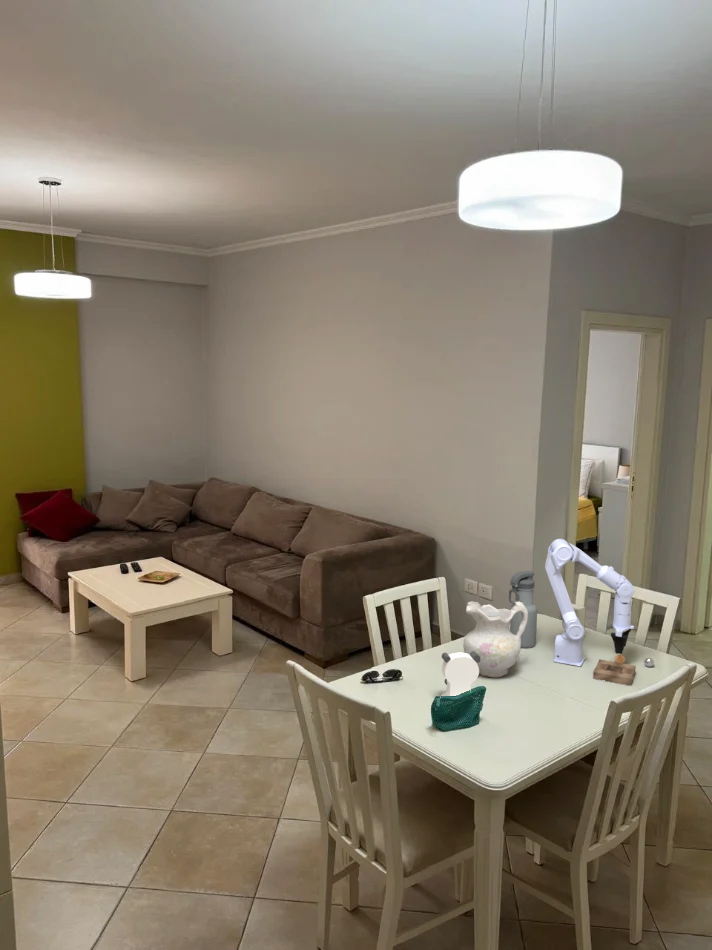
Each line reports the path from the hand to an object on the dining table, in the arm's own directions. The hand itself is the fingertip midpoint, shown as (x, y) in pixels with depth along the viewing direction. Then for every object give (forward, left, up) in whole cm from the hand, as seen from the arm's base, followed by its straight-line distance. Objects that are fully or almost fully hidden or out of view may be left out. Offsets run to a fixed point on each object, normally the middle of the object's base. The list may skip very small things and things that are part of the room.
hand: (620, 649), depth 257 cm
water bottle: (-36, +2, -5) cm, 36 cm away
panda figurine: (-41, -54, -5) cm, 68 cm away
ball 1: (0, 0, -4) cm, 4 cm away
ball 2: (+9, +2, -4) cm, 10 cm away
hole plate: (0, -12, -5) cm, 13 cm away
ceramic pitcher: (-38, -27, -5) cm, 47 cm away
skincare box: (-20, +20, -5) cm, 28 cm away
